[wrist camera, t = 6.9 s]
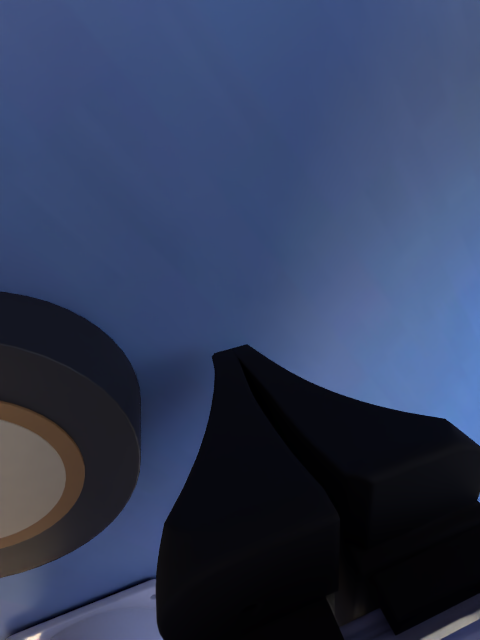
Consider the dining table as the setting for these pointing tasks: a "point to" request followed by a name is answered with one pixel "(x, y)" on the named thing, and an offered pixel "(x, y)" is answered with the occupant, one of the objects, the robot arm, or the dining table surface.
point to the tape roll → (61, 432)
